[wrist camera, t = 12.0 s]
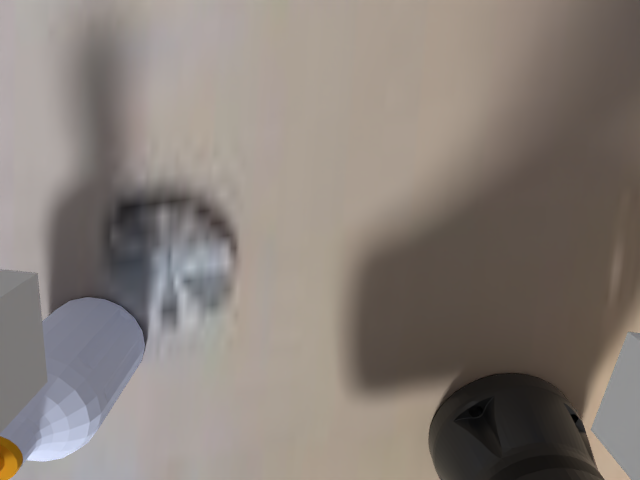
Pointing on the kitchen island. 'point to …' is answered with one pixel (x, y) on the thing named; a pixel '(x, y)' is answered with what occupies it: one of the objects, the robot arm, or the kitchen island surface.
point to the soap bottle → (74, 381)
